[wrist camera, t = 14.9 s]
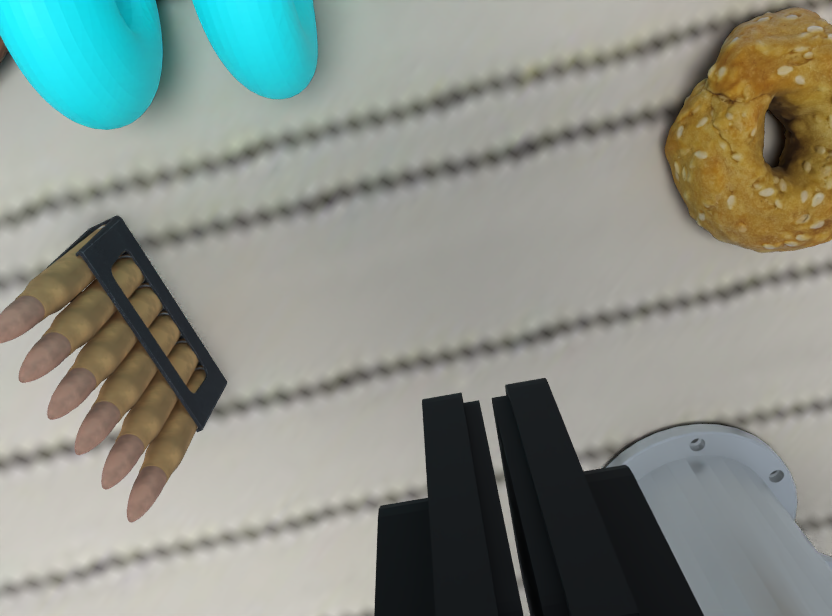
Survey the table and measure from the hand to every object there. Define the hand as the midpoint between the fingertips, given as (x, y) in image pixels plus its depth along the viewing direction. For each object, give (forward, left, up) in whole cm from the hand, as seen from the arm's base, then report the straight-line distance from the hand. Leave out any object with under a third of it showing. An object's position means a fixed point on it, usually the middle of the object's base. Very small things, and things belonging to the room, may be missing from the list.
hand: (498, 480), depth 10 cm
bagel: (-15, -7, -28) cm, 32 cm away
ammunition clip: (+9, +14, -27) cm, 32 cm away
